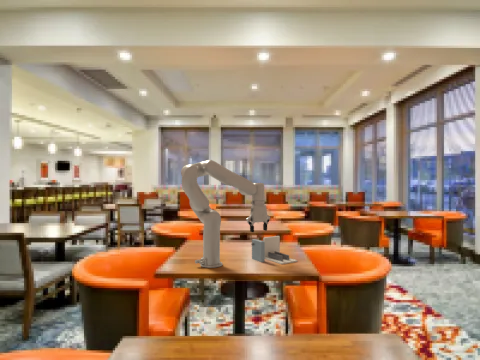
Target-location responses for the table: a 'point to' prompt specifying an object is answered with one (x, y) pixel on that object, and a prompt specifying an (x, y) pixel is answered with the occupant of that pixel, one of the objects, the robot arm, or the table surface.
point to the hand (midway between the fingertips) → (258, 231)
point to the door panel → (258, 250)
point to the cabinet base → (275, 251)
